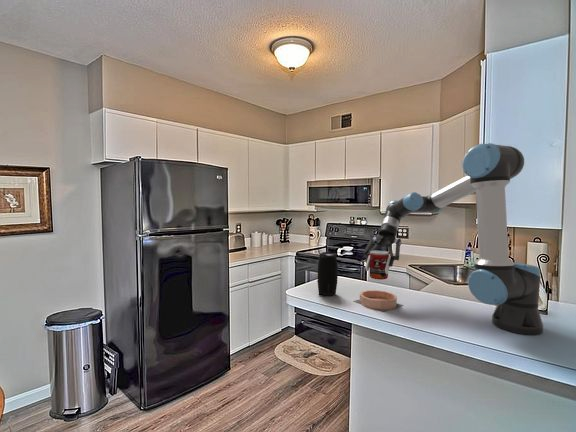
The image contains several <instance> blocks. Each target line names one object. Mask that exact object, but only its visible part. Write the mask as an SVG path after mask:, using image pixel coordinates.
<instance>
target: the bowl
mask: <svg viewBox="0 0 576 432" xmlns="http://www.w3.org/2000/svg"><path fill="white" fill-rule="evenodd" d="M359 300H360V303H361V304H362V305H361V304H360V305H361V306H364V307H366V308H370V309H374V310H376V309H380V310H382V309H392V308H395V309H397V308H396V305H397V303H398V296H397V295H396V294H395V293H393V292H388V291H385V290H376V289H372V290H370V289H368V290H363V291H361V292H360V293H359ZM392 310H393V309H392Z"/></svg>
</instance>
